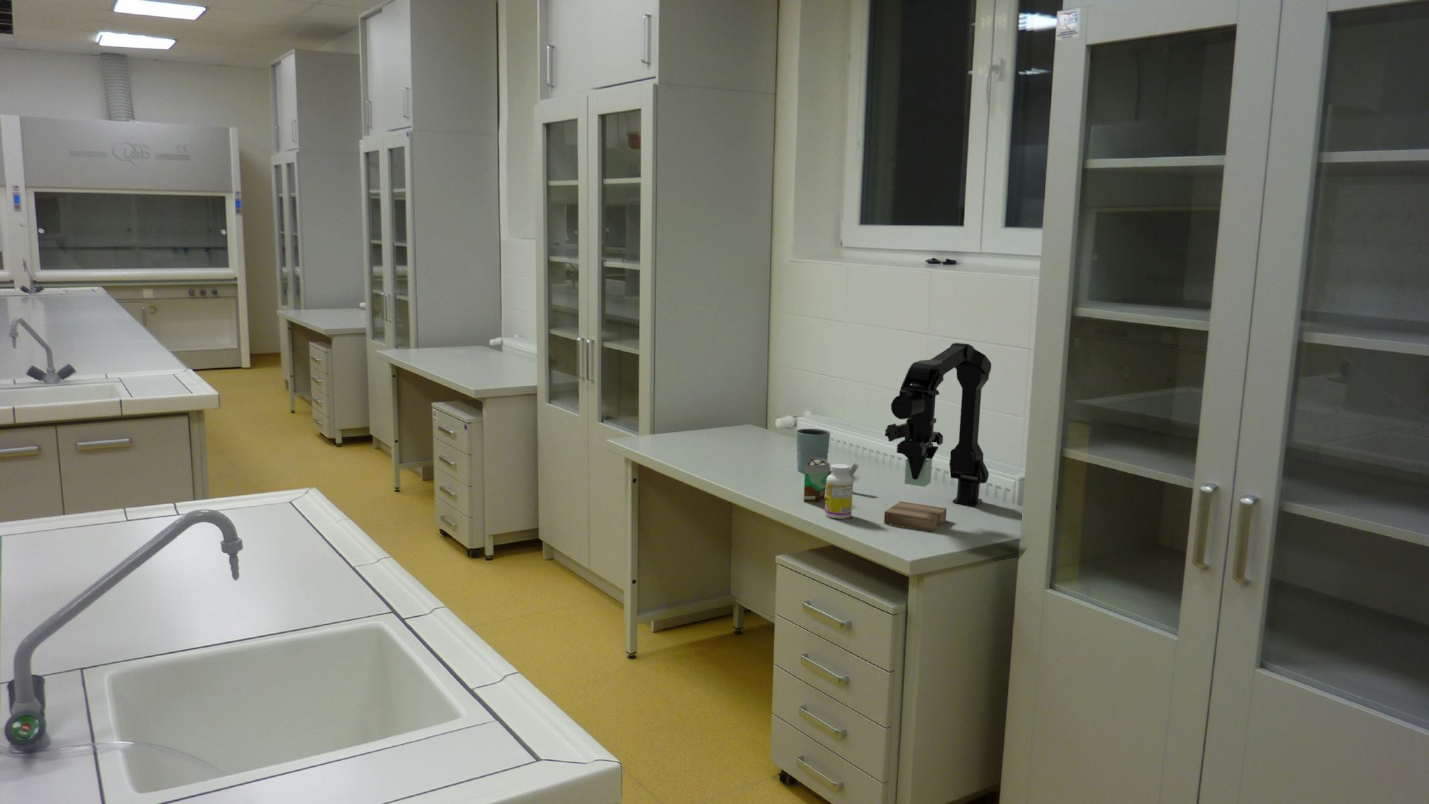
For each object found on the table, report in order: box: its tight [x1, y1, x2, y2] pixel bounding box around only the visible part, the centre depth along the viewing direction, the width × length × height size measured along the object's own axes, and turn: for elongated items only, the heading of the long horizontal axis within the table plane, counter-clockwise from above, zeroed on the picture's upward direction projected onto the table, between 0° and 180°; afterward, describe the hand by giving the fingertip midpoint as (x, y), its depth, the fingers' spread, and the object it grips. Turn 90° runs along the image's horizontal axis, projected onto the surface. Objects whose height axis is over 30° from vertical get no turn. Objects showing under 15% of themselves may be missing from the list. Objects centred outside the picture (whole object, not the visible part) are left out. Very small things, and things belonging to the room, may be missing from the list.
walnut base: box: [883, 500, 948, 532], centre depth 250 cm, size 12×12×3 cm
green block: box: [904, 458, 933, 488], centre depth 248 cm, size 5×5×6 cm
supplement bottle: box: [824, 463, 854, 520], centre depth 252 cm, size 7×7×13 cm
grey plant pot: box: [795, 428, 831, 474], centre depth 300 cm, size 10×10×12 cm
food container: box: [803, 457, 831, 503], centre depth 269 cm, size 12×6×10 cm, turn 168°
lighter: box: [849, 462, 860, 478], centre depth 278 cm, size 7×2×8 cm, turn 69°
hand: (918, 477), depth 248 cm, fingers closed on green block, 5 cm apart
